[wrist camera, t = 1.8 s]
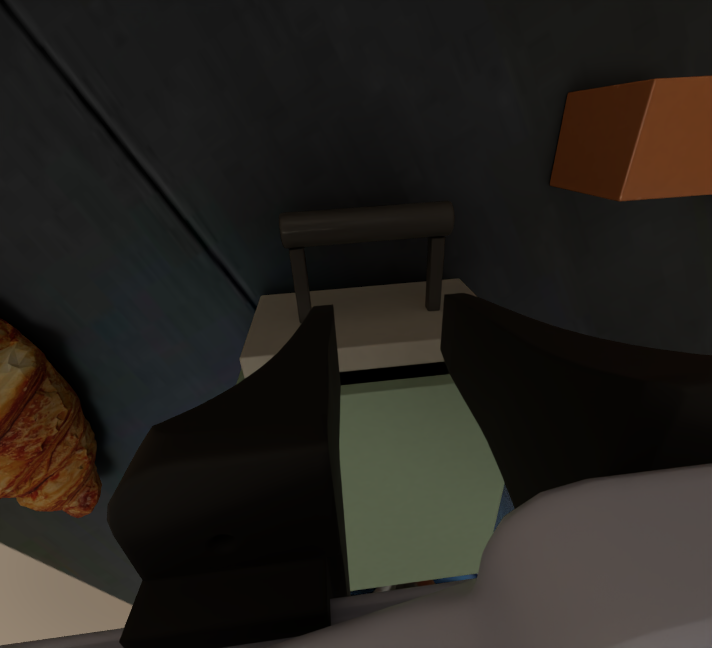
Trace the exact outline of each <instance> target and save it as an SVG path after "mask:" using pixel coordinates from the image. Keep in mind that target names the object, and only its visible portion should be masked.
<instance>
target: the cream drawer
mask: <svg viewBox="0 0 712 648" xmlns="http://www.w3.org/2000/svg"><path fill="white" fill-rule="evenodd" d="M279 227H280V235H281V241H282V244H283V246H284V248H289V254H290V261H291V268H292V274H293V281H294V288H295V293H286V294H274V295H263V296H261V297H260V300H259V303H258V306H257V309H256V312H255V315H254V318H253V321H252V323H251V326H250V329H249V332H248V335H247V338H246V341H245V344H244V347H243V350H242V353H241V356H240V363H241V367H242V371H243V375H244V378H247V377H248V376H249V375H251V374H252V373H254V372H255V371H256V370H258V369H259V368H260V367H262V366H263V365H264V364H265V363H266V362H268V361H269V360H270V359H271V358H272V357H273V356H274V355H276V354H277V353H278V352H279V351H280V349H281V348H282V347H283V346H284V345H285V344H286V343H287V342H288V340H289V339H290V338H291V337H292V336H293V334H294V333H295V332H296V330H297V329H298V328H299V326H300V325H301V324H302V322H303V321H304V319H305V318H306V316H307V314H308V313H309V311H310V310H311V308H312V307H313V306H321V305H332V304H333V307H334V318H335V329H336V339H337V350H338V361H339V372H340V383H341V385H349V384H359V383H369V382H378V381H388V380H397V379H407V378H417V377H426V376H436V375H446V374H449V372H448V369H447V367H446V364H445V361H444V359H443V356H442V353H441V350H440V344H441V331H442V318H443V304H444V294H455V293H466V294H470V295H473V296H476V295H475V294H474V293H473V292H472V291H471V290H470V289H469V288H468V287H467V286H466V285H465V284H464V283H463V282H462V281H461V280H460V279H447V280H442V276H443V262H444V248H445V237H444V236H448V235H450V234H451V233H452V231H453V227H454V209H453V205H452V203H451V202H450V201H439V202H425V203H412V204H398V205H384V206H370V207H357V208H343V209H329V210H315V211H302V212H288V213H281V214H280V216H279ZM423 237H428V255H427V276H426V281H424V282H412V283H401V284H389V285H378V286H366V287H355V288H343V289H332V290H320V291H309V283H308V275H307V267H306V259H305V251H304V247H309V246H322V245H335V244H347V243H360V242H373V241H385V240H398V239H411V238H423ZM476 297H477V296H476Z"/></svg>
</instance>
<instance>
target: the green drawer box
mask: <svg viewBox="0 0 712 648" xmlns="http://www.w3.org/2000/svg"><path fill="white" fill-rule="evenodd" d="M244 379H245V378H244V375H243V371H242V368H241V372H240V375H239V378H238V381H237V384H238V383H239V382H241V381H242V380H244ZM237 384H236V385H237ZM339 449H340V469H341V481H342V494H343V507H344V520H345V532H346V545H347V557H348V570H349V582H350V591H354V590H361V589H369V588H376V587H383V586H390V585H397V584H404V583H411V582H419V581H426V580H433V579H440V578H447V577H454V576H461V575H468V574H476V573H478V571H479V567H480V562H481V557H482V553H483V551H484V549H485V547H486V545H487V542H488V541H489V539H490V538H491V536H492V535H493V531H494V526H495V522H496V518H497V513H498V509H499V505H500V500H501V496H502V492H503V487H504V483H505V482H504V480H503V477H502V475H501V472H500V470H499V468H498V465H497V463H496V461H495V458H494V456H493V454H492V452H491V449H490V447H489V445H488V442H487V440H486V438H485V436H484V434H483V432H482V431H481V429H480V427H479V425H478V423H477V422H476V420H475V418H474V416H473V415H472V413H471V411H470V409H469V408H468V406H467V404H466V402H465V401H464V399H463V397H462V396H461V394H460V392H459V390H458V388H457V387H456V385H455V383H454V381H453V380H452V378H451V376H450V374H446V375H436V376H426V377H417V378H407V379H397V380H388V381H378V382H369V383H359V384H349V385H341V396H340V440H339Z"/></svg>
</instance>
